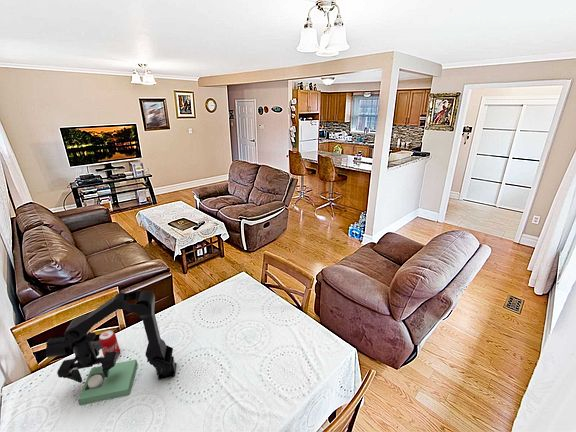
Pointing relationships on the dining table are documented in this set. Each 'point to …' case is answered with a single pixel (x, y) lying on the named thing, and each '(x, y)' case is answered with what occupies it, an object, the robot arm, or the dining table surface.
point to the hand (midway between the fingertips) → (94, 379)
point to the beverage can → (109, 342)
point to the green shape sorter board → (110, 383)
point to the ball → (95, 381)
